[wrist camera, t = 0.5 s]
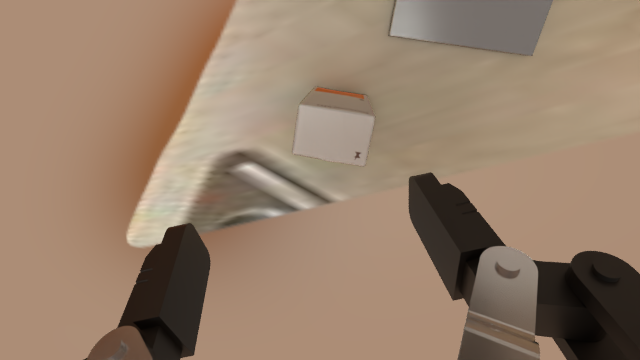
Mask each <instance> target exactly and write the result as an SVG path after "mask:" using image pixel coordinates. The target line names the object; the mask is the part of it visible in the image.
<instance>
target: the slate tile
mask: <svg viewBox="0 0 640 360" xmlns="http://www.w3.org/2000/svg"><path fill="white" fill-rule="evenodd" d="M552 1H553V0H395V5H394V10H393V15H392V20H391V25H390V30H389V35H388V36H394V37H401V38H408V39H415V40H422V41H429V42H436V43H443V44H450V45H457V46H464V47H471V48H478V49H485V50H492V51H499V52H506V53H513V54H520V55H527V56H532V55H533V52H534V50H535V47H536V44H537V42H538V39H539V36H540V34H541V31H542V28H543V26H544V23H545V20H546V17H547V15H548V12H549V9H550V7H551V4H552Z"/></svg>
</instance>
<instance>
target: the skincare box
mask: <svg viewBox="0 0 640 360" xmlns="http://www.w3.org/2000/svg"><path fill="white" fill-rule="evenodd" d="M374 123H375V114H374V112H373V109H372V107H371V104H370V101H369V99H368V96H367V95H362V94H355V93H348V92H341V91H336V90H331V89H325V88H320V87H314V88H313V90H312V91H311V92H310V93H309V94H308V95H307V96H306V97H305V98H304V99H303V100H302V102H301V103H300V104H299V107H298V113H297V120H296V127H295V134H294V141H293V149H292V153H293V154H295V155H300V156H306V157H312V158H317V159H321V160H325V161H330V162H339V163H345V164H351V165H357V166H363V167H364V166H366V162H367V157H368V152H369V147H370V142H371V137H372V133H373V128H374Z"/></svg>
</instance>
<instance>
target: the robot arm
mask: <svg viewBox="0 0 640 360" xmlns="http://www.w3.org/2000/svg"><path fill="white" fill-rule="evenodd" d="M409 213H410V218H411V221H412V223H413V225H414V227H415V229H416V231H417V233H418V235H419V237H420V238H421V241H422V243H423V244H424V246H425V248H426V250H427V252H428V254H429V256H430V258H431V260H432V262H433V264H434V265H435V267H436V269H437V271H438V273H439V275H440V277H441V279H442V281H443V283H444V285H445V286H446V288H447V290H448V292H449V294H450V296H451V298H452V299H453V300H458V299H462V298H464V299H465V301H466V303H467V304H468V306H469V309H468V314H467V319H466V323H465V327H464V332H463V337H462V341H461V346H460V351H459V355H458V360H540V348H539V344H538V343H537V342H535V335H537V336H545V337H552V338H553V339H554V341H555V342H556V344H557V345H558V347H559V348H560V350H561V351H562V353H563V354H564V356H565V357H566V359H567V360H640V274H639V273H638V272H637V271H636V270H635V269H634V268H633V267H631V266H630V265H629V264H628V263H626V262H624V261H623V260H621V259H619V258H617V257H615V256H613V255H610V254H607V253H603V252H598V251H585V252H581V253H578V254H577V255H575V256H574V258H573V259H572V261H571V263H558V262H542V261H535V260H532V259H531V258H530V257H529V256H527V255H526V254H524V253H523V252H521V251H519V250H517V249H514V248H511V247H507V246H506V245H505V244H504V243H503V242H502V241H501V239H500V238H499V237H498V236H497V234H496V233H495V232H494V231H493V229H492V228H491V227H490V226H489V224H488V223H487V222H486V221H485V219H484V218H483V217H482V216H481V214H480V213H479V212H477V209H476V208H475V207H474V206H473V204H472V203H470V201H469V199H468V198H467V197H466V196H465V194H464V193H463V192H462V191H461V190H459V189H458V188H456V187H454V186H453V185H451V184H449V183H447V184H443V185H441V184H440V183H439V181H438V180H437V179H436V177H435V176H434V175H433V174H432V173H426V174H421V175H416V176H412V177H410V178H409ZM209 270H210V257H209V252H208V250H207V248H206V247H205V245H204V243H203V241H202V240H201V238H200V236H199V234H198V233H197V231H196V229H195V227H194V226H193V225H192V224H191V223H188V224H183V225H178V226H174V227H169V228H168V229H167V230H166V232H165V235H164V238H163V240H162V243H161V244H158V245H155V247H154V248H153V249H152V250H151V252H150V253H149V254H148V255H147V256H146V258H145V261H144V263H143V265H142V268H141V270H140V271H141V273H139V275H138V278H137V280H136V284H135V285H134V288H133V290H132V293H131V295H130V298H129V300H128V303H127V305H126V308H125V310H124V313H123V315H122V318H121V320H120V323H119V325H118V327H117V328H116V329H114V330H112V331H111V332H109V333H108V334H106V335H105V336H104V337H102V338H101V339H100V340H99V341H98V342H97V344H96V345H95V346H94V347H93V349H92V350H91V352H90V354H89V356H88V358H86V359H84V360H180V358H183V357H188V356H193V355H194V351H195V345H196V341H197V335H198V330H199V324H200V319H201V314H202V308H203V303H204V297H205V292H206V287H207V281H208V276H209Z"/></svg>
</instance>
